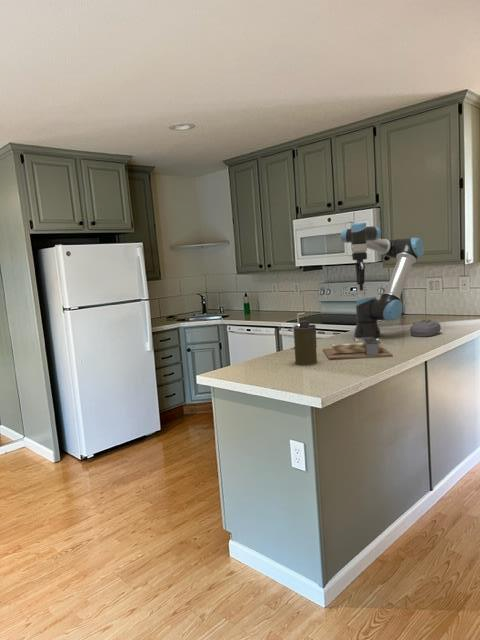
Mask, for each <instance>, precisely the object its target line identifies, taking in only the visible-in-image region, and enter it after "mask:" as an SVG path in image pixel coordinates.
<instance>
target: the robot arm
mask: <svg viewBox="0 0 480 640" xmlns="http://www.w3.org/2000/svg"><path fill="white" fill-rule="evenodd" d="M366 224H367V223H366V222H355V223H352V224H351V228H345V229H342V230H341V232H340V236H339V237H340V241H341V242H343V243H347V244H349V243H351V246H350V248H351V249H352V252H353V253H352V254H351V255H352V261H356V263H355V265H354V267H355V273H356V274H355V275H356V283H357V284H356V285H357V292H358V293H357V296H358V297H359V298H358V297H357V298H358V299H357V300H356V306H355V308H356V310H355V311H356V312H355V313H356V326H355V329H354V333H353V334H354V337H355V338H357V339H361V337H374V338H375V339H378V338H380V337H382V335H381V334H382V333H381V331H380V327H379V324H378V321H379V320H380V321H389V322H390V321H396V320H398V319H399V318H400V317H401V316H402V314H403V303H402V299H401V295H402V292H403V290H404V287H405V284H406V282H407V279H408V276H409V273H410V271H411V268H412V266H413V265H414V264H416V263H417V261H418V260H417V259H418V258H422V257H423V256H424V254H425V247H424V243H423V240H421V238H419V237H411V238H410V237H409V238H397V239H387V238H383V239H382V238H380V237H381V235H382V232H381V229H380V227H378V226H374V225H373V226H367V225H366ZM368 249H369V250H373V251H376V252H377V253H378V255H381V256H384V257H388V258H391V259H396V263H395V265H394V269H393V271H392V273H391V276H390V279H389V281H388V283H387V287H386V289H385V292H383V293H382V294H381V295H380V298H379V299H377V296H371V297H365V292H364V291H365V290H364V288H365V287H364V285H365V271H366V270H365V269H366V265H365V263H364V260H367V259H368V253H367V251H368ZM360 297H362V298H360Z"/></svg>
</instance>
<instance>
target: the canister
mask: <svg viewBox="0 0 480 640" xmlns="http://www.w3.org/2000/svg"><path fill="white" fill-rule="evenodd" d="M297 323H299V324H300V325H299V326H294V325H293V326H294V327H293V326H292V329H293V328H294V335H293V341H294V342H293V343H294V359H295V360H294V361H295V362H294V364H295V365H299V366H314V365H317V363H318V359H317V329H316V327H317V325H316V324H312V323H311V324H310V321H309V320H299V322H298V321H297Z"/></svg>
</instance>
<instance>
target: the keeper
mask: <svg viewBox="0 0 480 640" xmlns="http://www.w3.org/2000/svg"><path fill="white" fill-rule="evenodd" d="M360 339H361V341H362V343H365V354H366V355H367V356H372V355H379V352H378V340H377V339H378V338H374V337H361V338H360Z"/></svg>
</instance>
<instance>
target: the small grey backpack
mask: <svg viewBox="0 0 480 640" xmlns="http://www.w3.org/2000/svg"><path fill="white" fill-rule="evenodd" d="M441 330H442V327H441V323H440V322H438V321H434V320H433V321H432V320H431V319H428V320H426V319H423V320H420V321H417V322H414V323H413V324H412V325H411V326H410V329H409V332H410V336H413V337H419V338H420V337H421V338H423V337H433V336H436V335H438V334H439V333H440V331H441Z"/></svg>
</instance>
